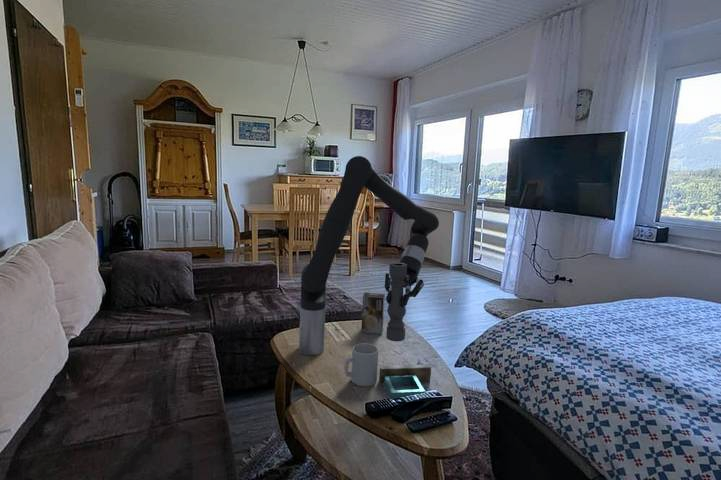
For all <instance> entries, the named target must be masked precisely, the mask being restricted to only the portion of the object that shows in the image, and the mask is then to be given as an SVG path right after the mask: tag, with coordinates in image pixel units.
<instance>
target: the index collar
mask: <svg viewBox="0 0 721 480" xmlns="http://www.w3.org/2000/svg"><path fill="white" fill-rule="evenodd" d="M421 383H422V382H419V380H418V378H417V377H416V375H415V374H403V375H384V381H383V384H382V386H383V389H384V390H385V392H386V395H387V398H388V400H389V399H395V398H400V397H405V396H409V395H415V394H421V393H425V394H426V390H425V389H424V387H423V385H422V384H421ZM396 387H399V388H400V387H412V389H399V390H397V389H395V388H396Z"/></svg>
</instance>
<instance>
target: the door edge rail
mask: <svg viewBox="0 0 721 480" xmlns="http://www.w3.org/2000/svg"><path fill="white" fill-rule="evenodd" d="M432 369H433V368H432V366H431V365H430V364H429V363H428V364H423V365H417V364H402V365H401V364H399V365H396V364H395V365H394V364H393V365H379V374H378V375H379V377H378V378H379V379H378V383H379V385H383V381H384V375H403V374H415V375H416V377H417V378H418V380H419V382H420V383H430V382H431V375H432Z"/></svg>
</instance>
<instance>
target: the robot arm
mask: <svg viewBox="0 0 721 480" xmlns="http://www.w3.org/2000/svg"><path fill="white" fill-rule="evenodd" d="M371 163H372V162H370V160H369V158H367V157H365V156H363V155H356V156H353V157H351V158H350V159H349V160H348V161H347V162H346V165H345V170H344V174H343V176H342V180H341V183H340V185H339V190H338V192H337V193H336V195H335V197H334V199H333V200H332V202H331V203H330V205H329V208H328V209H327V212H326V214H325V217H324V219H323V221H322V224H321V226H320V229H319V233H318V236H317V240H316V246H315V250H314V253H313V255H312V257H311V259H310V261H309V263H308V264H306V265H305V266H304V267H303V268H302V271H301V278H300V280H301V281H300V308H299V309H300V310H299V311H300V313H299V314H300V316H299V335H298V337H299V339H298V340H299V341H298V353H299V354H300V355H306V356H316V355H317V356H318V355H320V354H322V353H324V350H325V329H326V327H325V325H326V301H327V300H326V299H327V298H326V297H327V295H326V294H327V293H326V291H327V290H326V289H327V282H328V278H329V275H330V271H331V268H332V264H333V261H334V259H335V258H336V255H337V253H338V251H339V249H340V247H341V245H342V244H343V241H344V239H345V237H346V235H347V232H348V230H349V227H350V226H351V222H352V219H353V217H354V213H355V209H356V206H357V203H358V200H359V197H360V195H361V193H362V191H363V189H364V188H365V189H366V190H368V191H370V193H372V194H374V196H375V197H377V198H378V199H379V200H380V201H381V202H383V204H384V205H386V206H387V207H388V208H389V209H390V210H392V212H393V213H395V214H396V215H398V216H399V217H400V218H401V219H403V220H405V221H408V220H413V223H412V225H411V227H410V231H409V239H408V241H407V244H406V246H405V249H404V250H403V252H402V255H401V256H400V257H401V258H400V259H399V262H398V263H405V264H407V275H406V277H405V279H404V282H405V283H406V285H405V286H404V287H403V289H404V291H405V293H403V299H402V301H401V306H402V307H404V306H405V307H406V306H407V304H408V303H409V301H410V300H409V299H410V298H412V297H413V298H416V297H417V296H418V294H419V293H420V292H421V290H422V289H423V288H424V286H425V282H424V279H419V278H418V277H419V273H420V271H421V268H422V267H423V263H424V259H425V255H426V253H427V250H428V247H429V243H430V242H429V239H428V235H429V234H432V232H434V231H436V230H437V229H438V228H439V225H440V221H439V218H438V217H437V215H436V214H435V213H434V212H433V211H431V210H429V209H427V208H425V207H423V206H420V205H419V204H416V203H415V202H413V201H412V200H411V199H410V198H408V196H407V195H405V194H404V193H403V192H402V191H400V190H398V188H395V187H394V186H392V185H391V184H390V183H388V182H387V181H386V180H384V179H383V178H382V177H381V176H380V175H379V174H378V173H377V172H376V171H375V170H374V169H373V167H372V164H371ZM391 281H392V279H391V277H390V274H389V272H388V273H387V272H386V273H385V275H384V289H385V291H386V292H387V294H386V297H385V301H386V303H387V304H388V305H389V304H390V299H391V290H392V287H391V285H390V282H391ZM414 285H415V286H414ZM412 286H414V287H413V289H412Z"/></svg>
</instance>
